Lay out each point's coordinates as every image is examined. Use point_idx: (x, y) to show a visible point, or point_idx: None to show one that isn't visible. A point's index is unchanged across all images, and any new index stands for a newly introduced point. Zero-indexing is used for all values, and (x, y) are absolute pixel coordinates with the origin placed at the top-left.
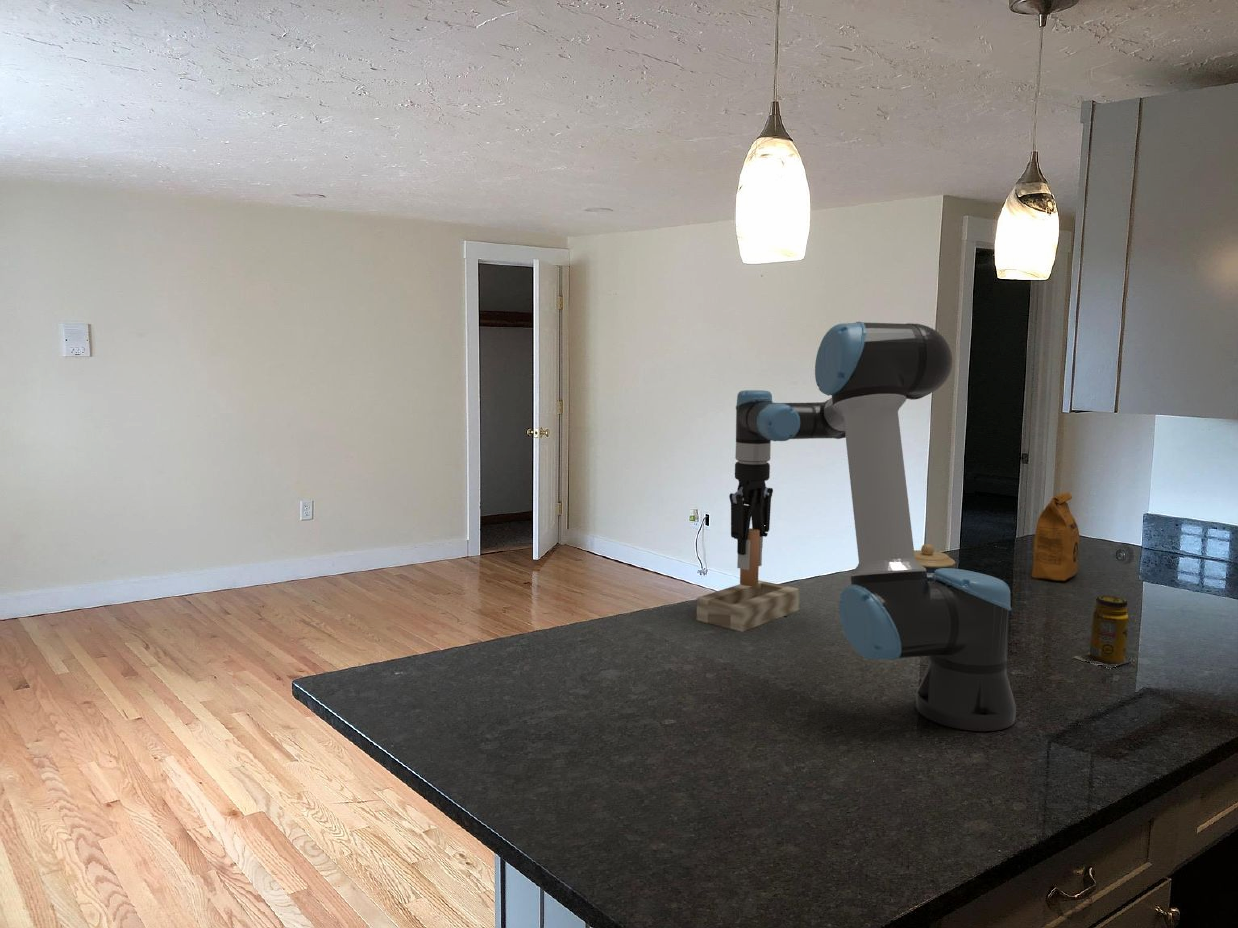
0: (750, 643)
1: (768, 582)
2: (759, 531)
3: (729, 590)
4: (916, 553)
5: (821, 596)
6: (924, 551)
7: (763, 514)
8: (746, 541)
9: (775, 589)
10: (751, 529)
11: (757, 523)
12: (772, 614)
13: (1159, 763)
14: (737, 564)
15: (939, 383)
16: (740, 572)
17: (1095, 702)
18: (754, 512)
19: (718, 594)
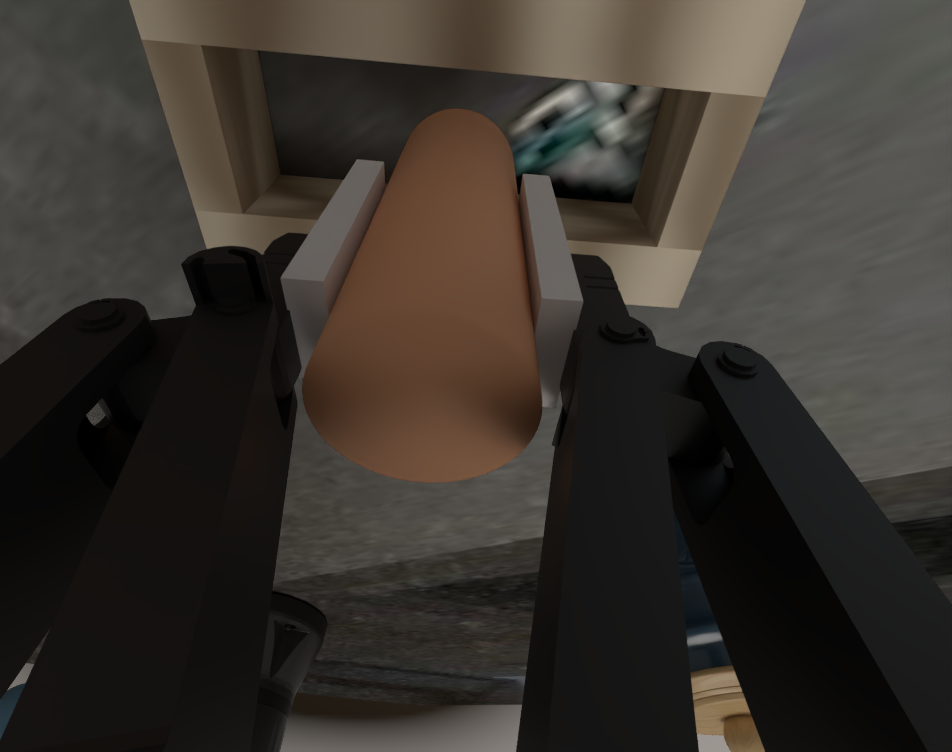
0: (192, 307)
1: (749, 123)
2: (467, 472)
3: (426, 14)
4: (741, 709)
5: (918, 239)
6: (726, 732)
7: (751, 610)
8: (305, 364)
9: (668, 195)
10: (475, 400)
11: (552, 494)
12: None
13: (309, 690)
14: (351, 168)
15: None
16: (403, 152)
17: (425, 665)
18: (540, 651)
19: (292, 10)
